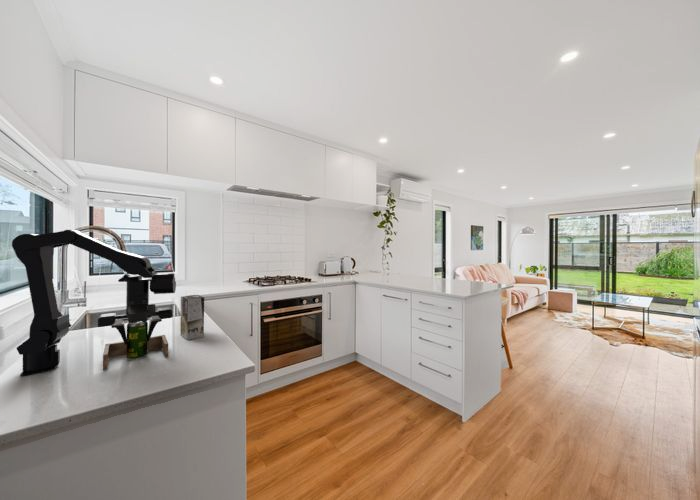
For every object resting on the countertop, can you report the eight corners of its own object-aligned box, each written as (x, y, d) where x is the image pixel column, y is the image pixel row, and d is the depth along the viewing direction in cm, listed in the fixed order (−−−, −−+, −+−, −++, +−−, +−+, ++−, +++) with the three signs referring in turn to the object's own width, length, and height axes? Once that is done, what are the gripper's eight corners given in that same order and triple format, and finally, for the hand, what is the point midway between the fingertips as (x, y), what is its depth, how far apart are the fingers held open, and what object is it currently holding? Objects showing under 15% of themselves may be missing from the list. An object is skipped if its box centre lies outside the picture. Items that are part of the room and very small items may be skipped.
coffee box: (204, 336, 109) (205, 297, 109) (186, 340, 105) (187, 299, 105) (196, 331, 116) (197, 294, 116) (179, 334, 111) (180, 295, 111)
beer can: (134, 354, 90) (135, 318, 90) (151, 354, 91) (151, 319, 91) (121, 361, 85) (122, 323, 85) (139, 361, 85) (139, 323, 85)
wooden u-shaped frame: (102, 369, 79) (103, 355, 79) (105, 357, 87) (105, 344, 87) (168, 356, 89) (168, 343, 89) (164, 346, 98) (164, 334, 98)
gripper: (96, 302, 76) (95, 357, 76) (175, 295, 88) (174, 343, 88) (99, 296, 84) (99, 345, 84) (170, 291, 96) (170, 334, 96)
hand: (137, 342), depth 88 cm, fingers closed on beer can, 5 cm apart
